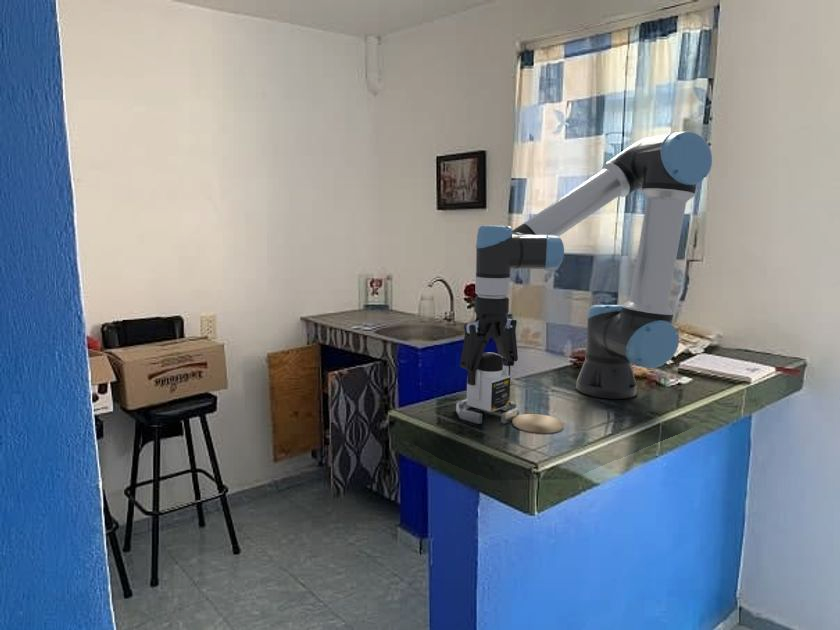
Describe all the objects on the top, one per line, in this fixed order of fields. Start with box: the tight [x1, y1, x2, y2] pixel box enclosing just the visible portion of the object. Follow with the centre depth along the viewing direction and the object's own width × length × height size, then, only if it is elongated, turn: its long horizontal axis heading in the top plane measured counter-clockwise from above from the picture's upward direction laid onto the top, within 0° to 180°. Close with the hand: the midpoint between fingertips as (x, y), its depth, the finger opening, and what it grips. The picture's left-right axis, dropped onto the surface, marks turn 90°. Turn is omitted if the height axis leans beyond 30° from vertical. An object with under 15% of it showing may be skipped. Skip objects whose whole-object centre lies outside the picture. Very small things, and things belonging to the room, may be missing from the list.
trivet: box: [511, 413, 565, 434], centre depth 136 cm, size 11×11×1 cm
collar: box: [455, 398, 518, 425], centre depth 141 cm, size 13×13×3 cm
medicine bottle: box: [466, 352, 511, 413], centre depth 140 cm, size 7×7×12 cm
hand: (488, 395), depth 141 cm, fingers closed on medicine bottle, 8 cm apart
